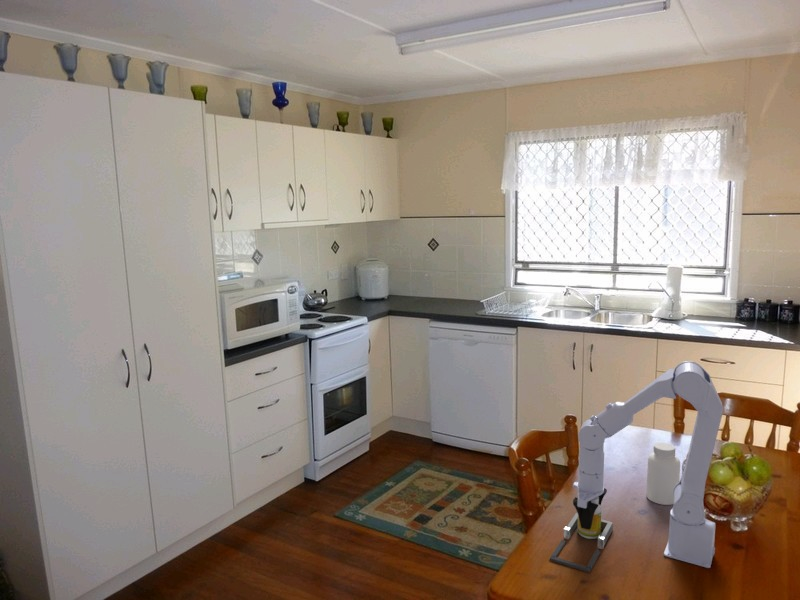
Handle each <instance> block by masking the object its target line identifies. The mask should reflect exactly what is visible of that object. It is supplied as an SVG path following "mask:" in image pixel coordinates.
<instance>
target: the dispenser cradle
mask: <svg viewBox="0 0 800 600" xmlns="http://www.w3.org/2000/svg"><path fill="white" fill-rule="evenodd" d="M577 527H578V513H577V512H575V514H574V515H573V517H572V518H571V520H570V521H569V522H568V524H567V526H564V528H563V539H565V540H570V538H571V536H572V534H573V533H574V531H575V530H576V528H577ZM613 527H614V523H613V522H612V521H609V520H606V519H602V518H601V530H603V531H601V534H600V536H599V537H598V538H597V549H600V550H604V548H605V545H606V543H607V541H608V540H609V538H610V535H611V533H612V531H613Z"/></svg>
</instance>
